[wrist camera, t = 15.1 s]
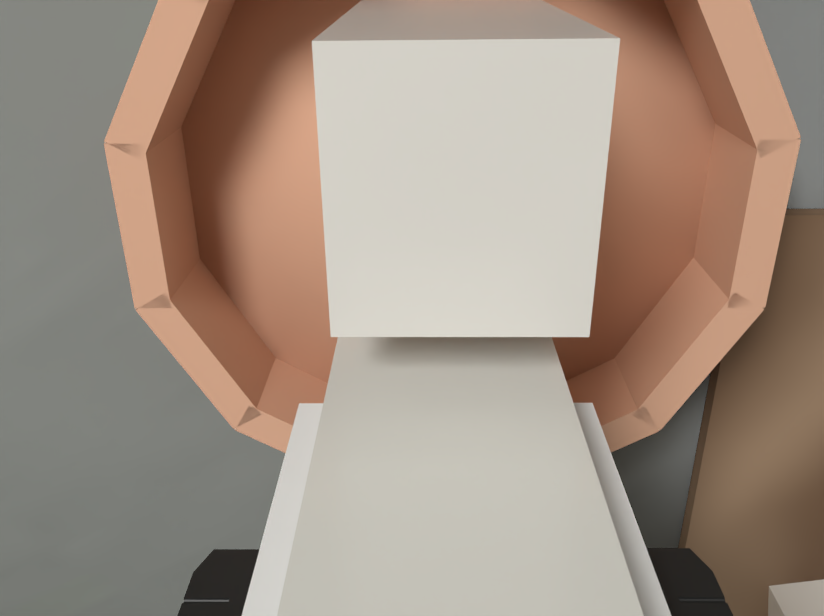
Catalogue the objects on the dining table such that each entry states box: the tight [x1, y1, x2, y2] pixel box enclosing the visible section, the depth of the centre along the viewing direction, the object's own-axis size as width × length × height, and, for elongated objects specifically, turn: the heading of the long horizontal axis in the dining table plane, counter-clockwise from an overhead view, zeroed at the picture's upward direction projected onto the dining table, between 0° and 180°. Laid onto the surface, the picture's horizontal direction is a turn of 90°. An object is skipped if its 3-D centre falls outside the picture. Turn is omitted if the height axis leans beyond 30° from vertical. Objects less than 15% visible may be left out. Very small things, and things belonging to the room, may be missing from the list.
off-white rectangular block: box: [277, 337, 644, 616], centre depth 13 cm, size 4×5×10 cm
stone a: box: [312, 0, 620, 337], centre depth 16 cm, size 4×5×10 cm
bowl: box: [104, 0, 801, 453], centre depth 21 cm, size 17×17×4 cm
